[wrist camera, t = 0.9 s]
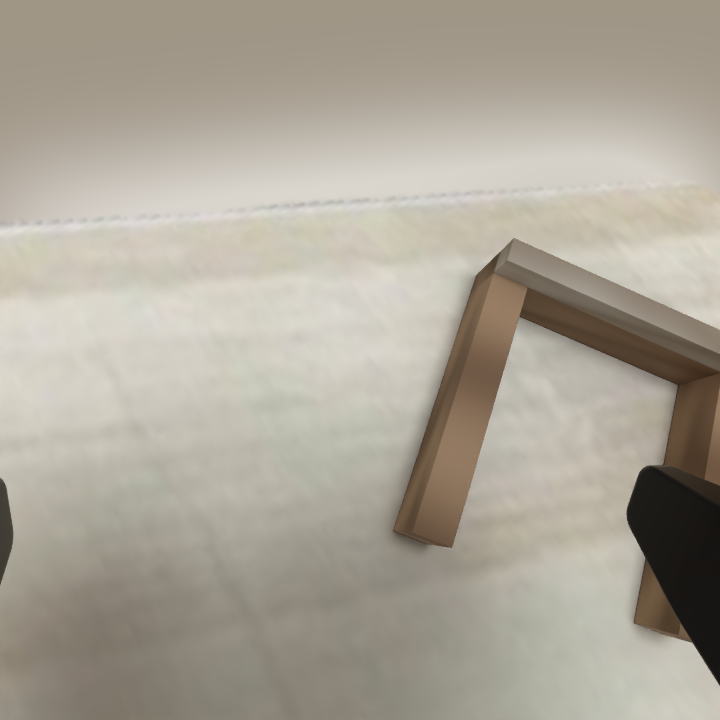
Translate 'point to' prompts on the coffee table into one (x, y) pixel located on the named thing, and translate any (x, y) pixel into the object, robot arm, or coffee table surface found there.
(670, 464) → the frame
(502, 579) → the coffee table surface
